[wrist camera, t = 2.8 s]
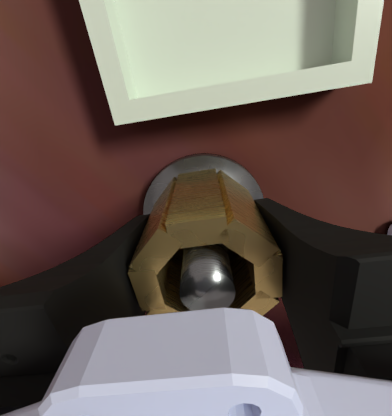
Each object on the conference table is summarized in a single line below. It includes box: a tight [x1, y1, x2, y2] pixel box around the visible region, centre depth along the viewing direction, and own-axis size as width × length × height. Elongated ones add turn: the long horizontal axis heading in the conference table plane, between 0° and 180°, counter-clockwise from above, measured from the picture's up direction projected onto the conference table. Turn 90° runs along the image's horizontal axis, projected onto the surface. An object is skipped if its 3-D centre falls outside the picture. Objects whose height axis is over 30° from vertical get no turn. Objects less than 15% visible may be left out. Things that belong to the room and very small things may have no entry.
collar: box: [128, 168, 282, 316], centre depth 10 cm, size 5×6×5 cm
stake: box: [143, 153, 264, 310], centre depth 10 cm, size 6×6×6 cm
